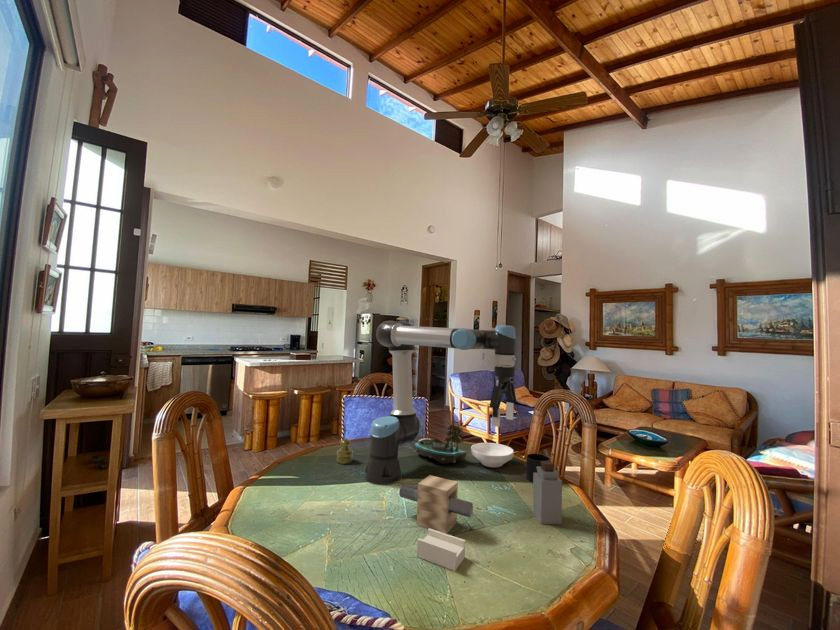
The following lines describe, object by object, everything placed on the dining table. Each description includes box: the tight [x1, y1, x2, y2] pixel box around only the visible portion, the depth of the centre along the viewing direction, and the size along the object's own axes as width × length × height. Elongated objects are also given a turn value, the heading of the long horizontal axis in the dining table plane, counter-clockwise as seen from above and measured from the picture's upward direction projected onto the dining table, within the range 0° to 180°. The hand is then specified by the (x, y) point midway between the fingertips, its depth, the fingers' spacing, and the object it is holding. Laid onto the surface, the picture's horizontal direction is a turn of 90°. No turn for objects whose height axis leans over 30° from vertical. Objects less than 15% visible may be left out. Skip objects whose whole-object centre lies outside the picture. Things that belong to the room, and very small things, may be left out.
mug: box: [525, 453, 551, 483], centre depth 149 cm, size 9×12×9 cm
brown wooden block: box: [416, 474, 459, 534], centre depth 112 cm, size 10×8×12 cm
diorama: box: [414, 420, 467, 465], centre depth 173 cm, size 19×25×19 cm
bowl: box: [470, 442, 515, 468], centre depth 166 cm, size 20×20×7 cm
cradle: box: [416, 528, 466, 572], centre depth 95 cm, size 11×7×4 cm, turn 61°
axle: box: [398, 483, 474, 518], centre depth 113 cm, size 24×4×4 cm, turn 61°
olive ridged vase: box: [336, 438, 354, 465], centre depth 164 cm, size 7×7×10 cm
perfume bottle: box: [532, 460, 563, 525], centre depth 118 cm, size 7×7×18 cm
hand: (503, 422), depth 135 cm, fingers open, 13 cm apart
